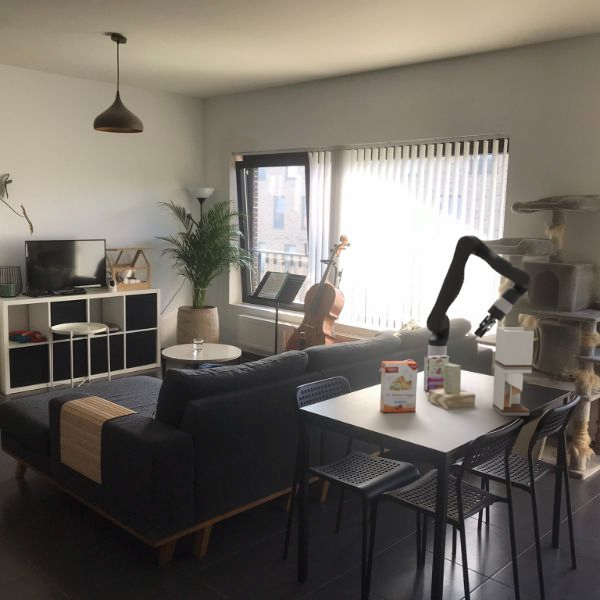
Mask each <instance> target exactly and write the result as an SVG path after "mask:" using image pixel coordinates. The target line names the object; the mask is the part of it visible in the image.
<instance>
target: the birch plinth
mask: <svg viewBox="0 0 600 600" xmlns="http://www.w3.org/2000/svg"><path fill="white" fill-rule="evenodd" d="M429 401H431V402H430V403H432V402H433V403H432V404H434V403H435V405H437V404H438V405H437V406H439V405H440V406H439V407H442V408H444V407H445V409H446V408H447V409H446V410H454V408H456V409H461V407H462V408H467V407H474V406H476V394H475V393H473V392H470V391H467V390H464V389H461V388H460V393H456V394H452V393H449V392H445V391H444V388H441V389H433V390H429V392H428V402H429Z"/></svg>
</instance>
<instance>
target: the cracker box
mask: <svg viewBox="0 0 600 600" xmlns="http://www.w3.org/2000/svg"><path fill="white" fill-rule="evenodd" d="M418 366H419V364H418V363H417V362H415V361H414V360H391V361H390V360H385V361H383V360H382V361H381V375H380V378H381V379H380V397H379V398H380V399H379V400H380V401H379V403H380V404H379V408H380V410H381V412H382V413H383V412H395V413H409V412H408V411H415V412H416V408H417V404H416V403H417V389H418V388H417V387H418V386H417V385H418V368H419V367H418Z"/></svg>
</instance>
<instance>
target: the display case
mask: <svg viewBox="0 0 600 600" xmlns="http://www.w3.org/2000/svg"><path fill="white" fill-rule="evenodd" d="M495 332H496V334H495V352H494V353H495V356H494V371H493V373H494V375H493V393H492V394H493V395H492V396H493V397H492V409H493V408H494V409H493V410H494V411H496V412H497V413H498V414H500V415H501V416H530V410H529V409H528V408H527V407H525V406H524V405H523V404H521V393H522V392H523V385H524V384H523V380H524V374H532V370H533V356H534V355H533V354H534V352H533V351H534V336H535V331H534V330H525V327H522V326H518V327H517V326H513V327H512V326H500V327H499V326H497V327H496V331H495Z"/></svg>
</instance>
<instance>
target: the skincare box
mask: <svg viewBox="0 0 600 600" xmlns="http://www.w3.org/2000/svg"><path fill="white" fill-rule="evenodd" d="M461 369H462V367H461V365H460V364H456V363H451V362H450V363H449V364H444V391H445V392H449V393H452V394H456V393H460V389H461V386H462V385H461V382H462V381H461V380H462V378H461V377H462V375H461V371H462V370H461Z"/></svg>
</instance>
